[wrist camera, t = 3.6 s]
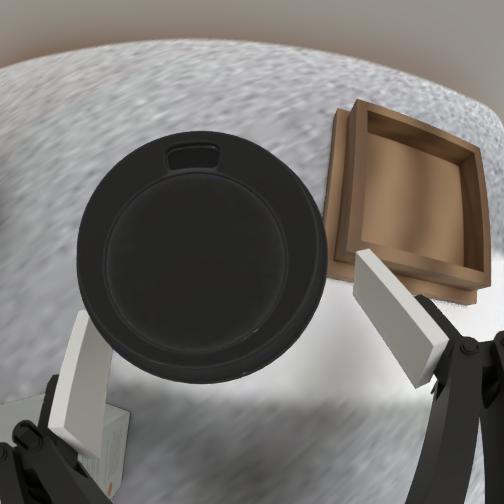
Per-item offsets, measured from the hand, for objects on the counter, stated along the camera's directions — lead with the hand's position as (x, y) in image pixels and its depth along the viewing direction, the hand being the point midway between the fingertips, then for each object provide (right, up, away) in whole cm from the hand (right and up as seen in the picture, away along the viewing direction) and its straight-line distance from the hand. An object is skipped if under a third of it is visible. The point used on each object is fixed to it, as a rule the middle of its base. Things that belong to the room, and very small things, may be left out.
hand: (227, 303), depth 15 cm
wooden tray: (+15, +7, +12) cm, 21 cm away
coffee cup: (-1, -1, +9) cm, 10 cm away
